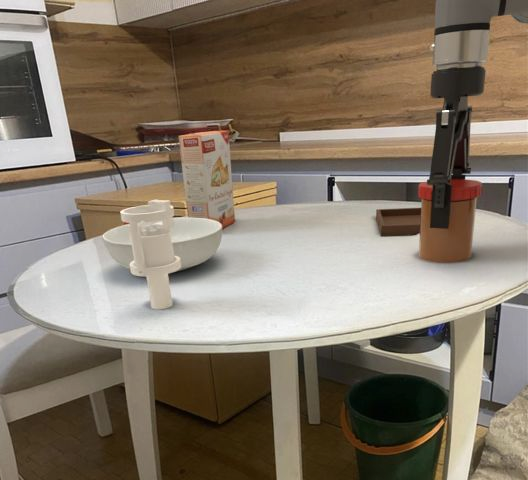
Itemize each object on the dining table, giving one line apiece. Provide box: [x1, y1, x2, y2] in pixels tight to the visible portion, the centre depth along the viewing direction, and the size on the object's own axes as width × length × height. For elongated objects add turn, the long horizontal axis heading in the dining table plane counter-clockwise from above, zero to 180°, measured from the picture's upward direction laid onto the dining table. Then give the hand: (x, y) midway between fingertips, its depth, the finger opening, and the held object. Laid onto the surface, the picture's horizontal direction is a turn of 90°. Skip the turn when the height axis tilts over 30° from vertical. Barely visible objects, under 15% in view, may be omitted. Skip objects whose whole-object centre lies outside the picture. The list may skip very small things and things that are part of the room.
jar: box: [418, 197, 478, 264], centre depth 87 cm, size 8×8×12 cm
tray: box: [375, 207, 421, 237], centre depth 113 cm, size 18×14×2 cm
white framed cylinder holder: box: [119, 199, 181, 310], centre depth 74 cm, size 7×7×15 cm
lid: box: [417, 179, 483, 200], centre depth 85 cm, size 10×10×2 cm
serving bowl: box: [102, 216, 223, 273], centre depth 95 cm, size 21×21×7 cm
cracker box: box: [178, 130, 236, 229], centre depth 121 cm, size 14×6×21 cm, turn 160°
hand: (446, 220), depth 87 cm, fingers open, 10 cm apart
